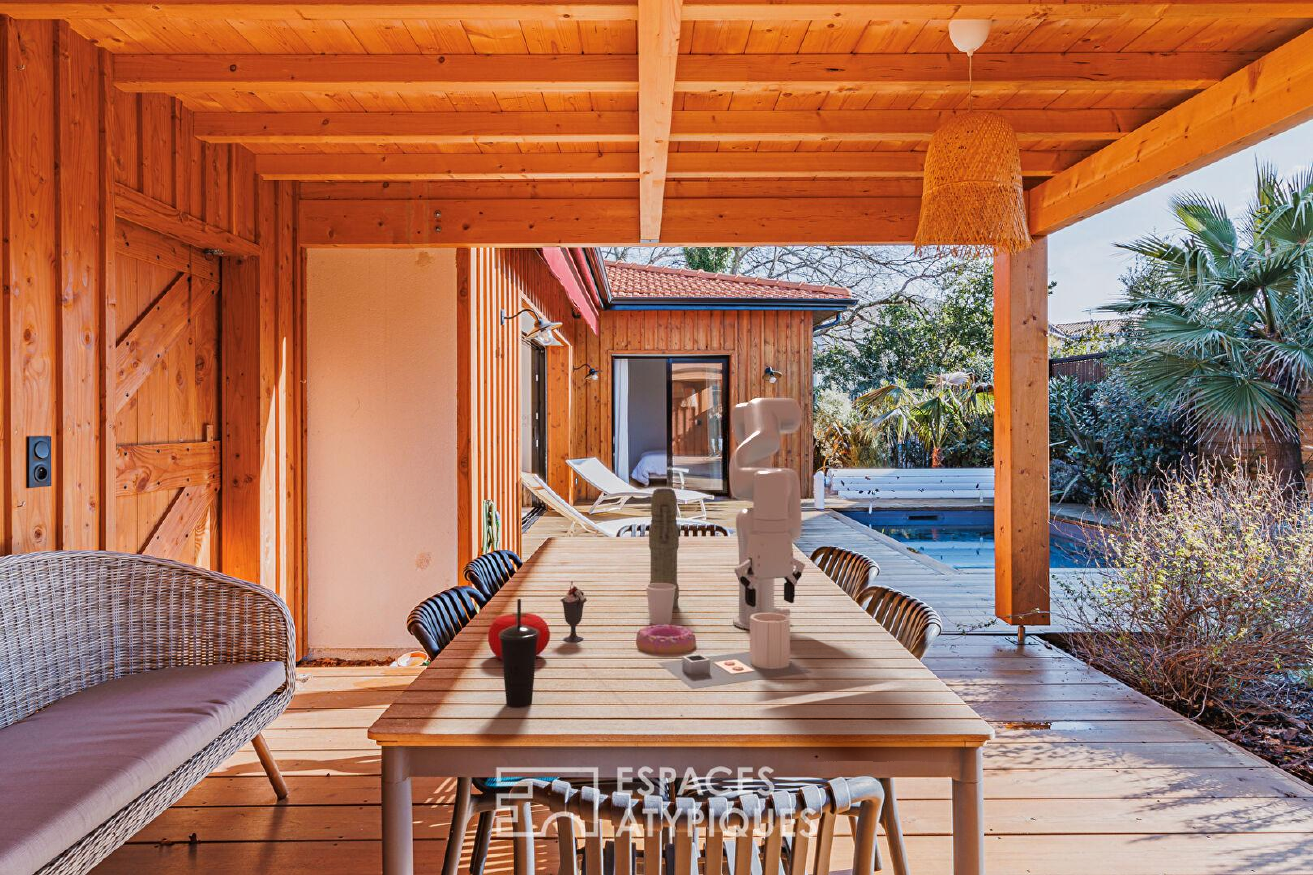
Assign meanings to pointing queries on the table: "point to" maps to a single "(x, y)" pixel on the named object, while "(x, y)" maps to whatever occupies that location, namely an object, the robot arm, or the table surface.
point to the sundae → (573, 611)
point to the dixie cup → (660, 602)
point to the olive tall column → (664, 539)
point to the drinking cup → (519, 661)
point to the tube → (770, 640)
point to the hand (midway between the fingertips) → (770, 603)
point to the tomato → (511, 620)
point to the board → (730, 671)
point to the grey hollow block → (696, 665)
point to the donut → (665, 639)
